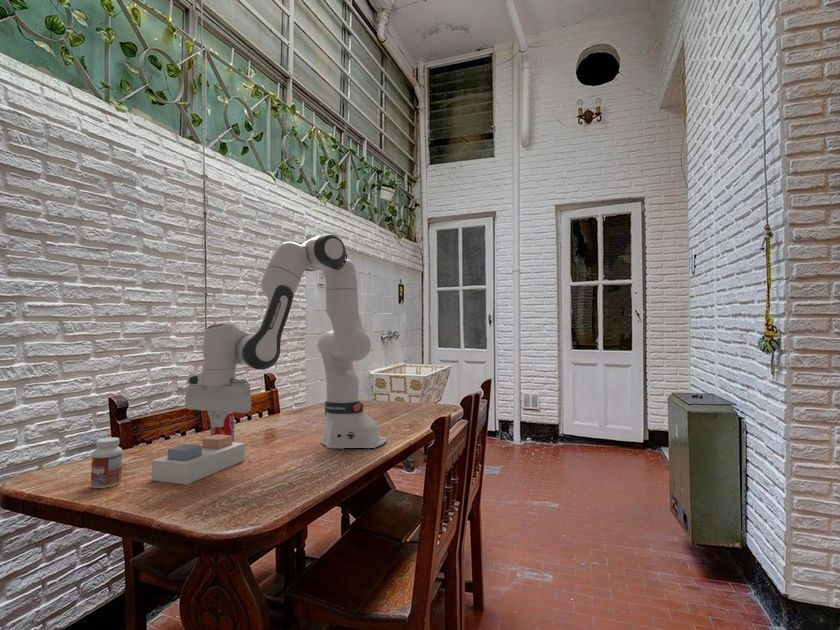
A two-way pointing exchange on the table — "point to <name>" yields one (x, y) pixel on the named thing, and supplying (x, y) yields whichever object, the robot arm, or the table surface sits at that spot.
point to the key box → (197, 464)
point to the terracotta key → (217, 441)
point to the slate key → (184, 452)
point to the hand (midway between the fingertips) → (217, 426)
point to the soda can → (227, 428)
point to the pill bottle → (106, 463)
